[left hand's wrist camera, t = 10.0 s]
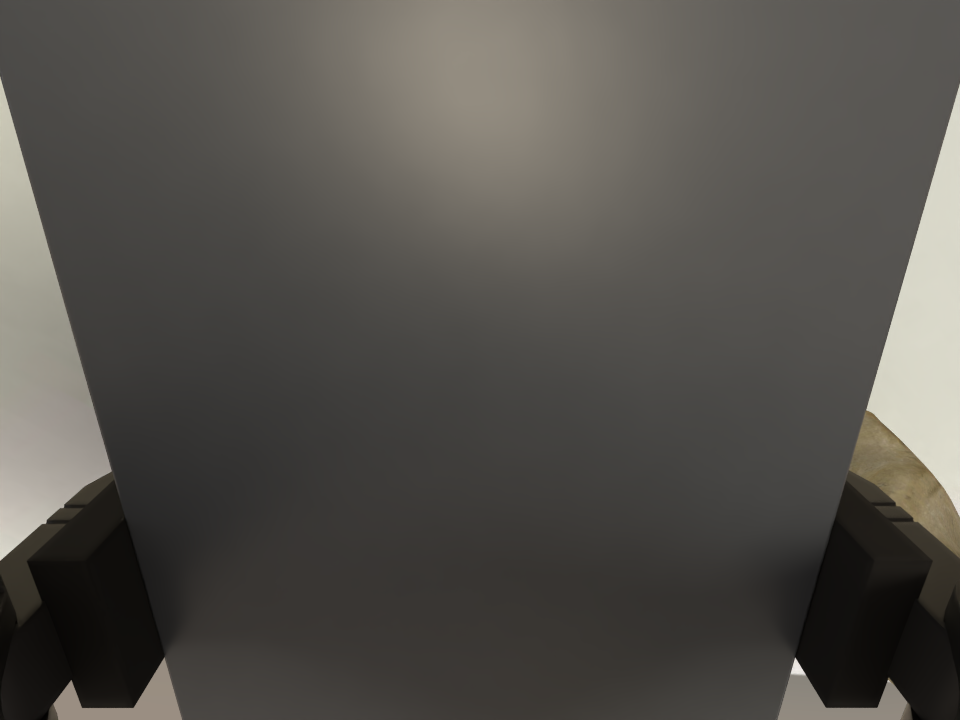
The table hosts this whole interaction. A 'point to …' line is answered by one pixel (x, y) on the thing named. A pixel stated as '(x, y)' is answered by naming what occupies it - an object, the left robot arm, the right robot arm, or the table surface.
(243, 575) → the long beam
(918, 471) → the sculpture
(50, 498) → the table surface
